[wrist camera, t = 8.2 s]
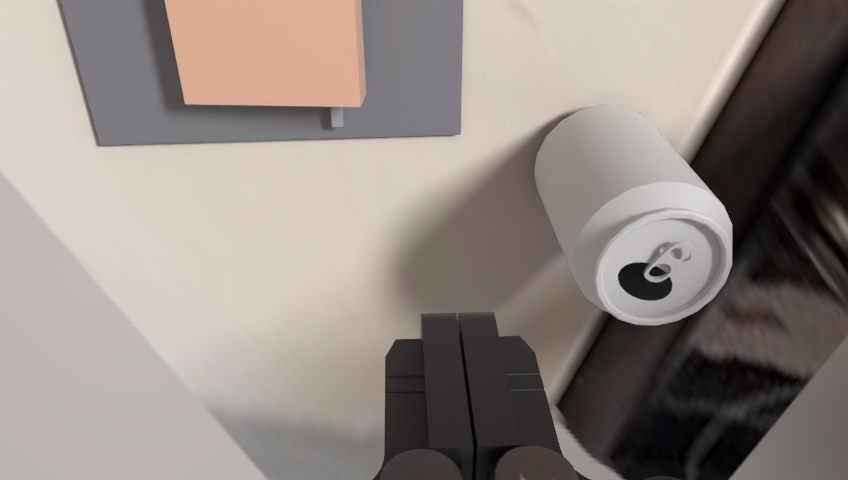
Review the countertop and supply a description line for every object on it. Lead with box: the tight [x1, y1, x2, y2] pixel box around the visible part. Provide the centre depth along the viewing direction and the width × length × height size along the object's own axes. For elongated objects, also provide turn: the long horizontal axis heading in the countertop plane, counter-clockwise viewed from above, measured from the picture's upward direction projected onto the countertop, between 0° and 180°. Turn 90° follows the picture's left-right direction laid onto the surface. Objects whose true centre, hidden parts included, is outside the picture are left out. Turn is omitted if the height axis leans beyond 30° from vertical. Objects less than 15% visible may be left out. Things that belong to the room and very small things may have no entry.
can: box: [534, 104, 732, 325], centre depth 36 cm, size 8×8×12 cm
